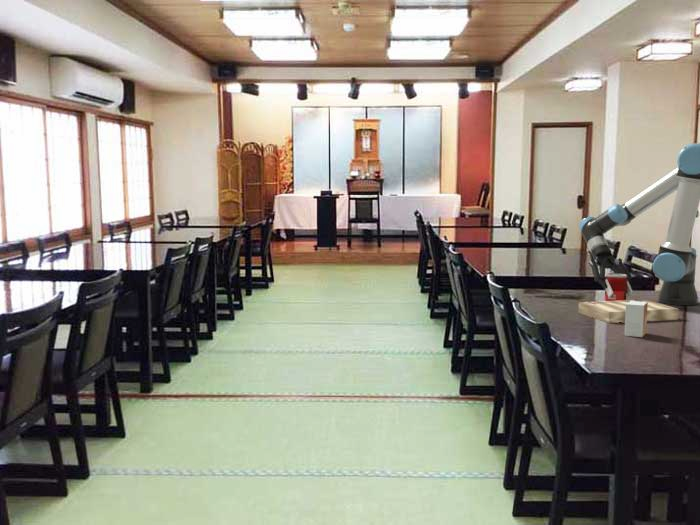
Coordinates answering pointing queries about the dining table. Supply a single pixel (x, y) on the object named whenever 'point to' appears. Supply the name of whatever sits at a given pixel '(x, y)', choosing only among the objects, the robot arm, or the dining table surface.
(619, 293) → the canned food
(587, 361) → the dining table surface
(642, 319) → the small box
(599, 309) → the maple plank
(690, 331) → the dining table surface
